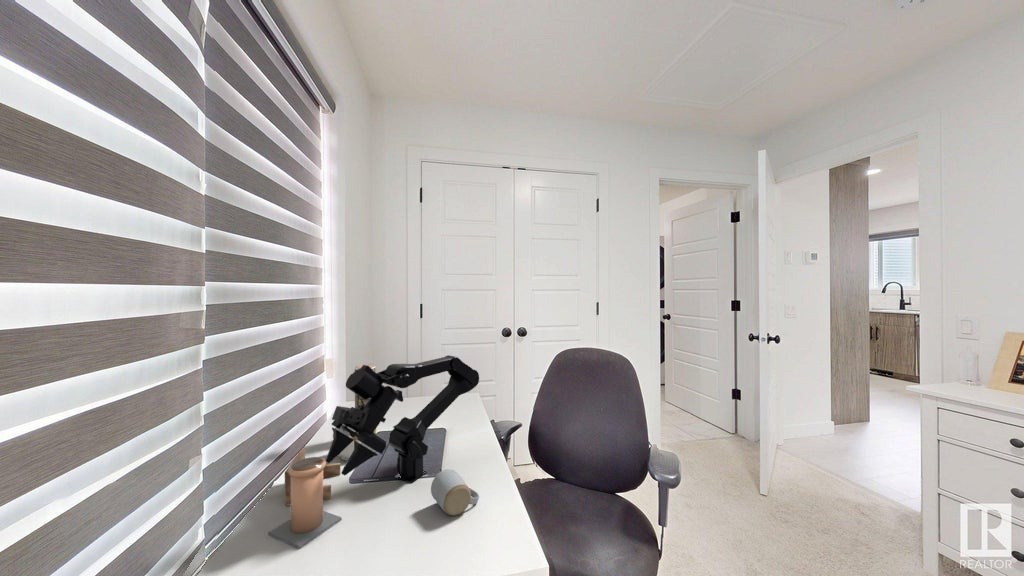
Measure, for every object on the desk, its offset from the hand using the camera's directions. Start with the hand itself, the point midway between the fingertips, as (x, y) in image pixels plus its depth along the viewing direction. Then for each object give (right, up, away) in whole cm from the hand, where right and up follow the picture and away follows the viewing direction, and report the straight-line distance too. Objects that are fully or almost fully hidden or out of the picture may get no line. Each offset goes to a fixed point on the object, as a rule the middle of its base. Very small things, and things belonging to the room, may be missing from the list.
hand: (334, 468), depth 86 cm
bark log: (-9, -10, +42) cm, 44 cm away
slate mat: (-3, -10, -6) cm, 12 cm away
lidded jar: (-8, -10, +28) cm, 31 cm away
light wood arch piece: (-10, -10, +9) cm, 17 cm away
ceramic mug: (+29, -10, +1) cm, 30 cm away
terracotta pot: (-3, -9, -6) cm, 12 cm away
